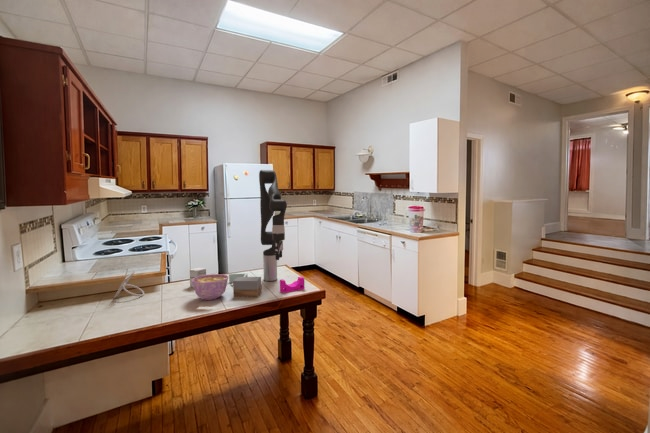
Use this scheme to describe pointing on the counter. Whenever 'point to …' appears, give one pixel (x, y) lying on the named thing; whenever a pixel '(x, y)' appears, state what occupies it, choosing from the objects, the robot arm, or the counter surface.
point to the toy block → (292, 285)
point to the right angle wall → (234, 276)
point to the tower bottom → (247, 293)
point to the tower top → (247, 283)
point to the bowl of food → (210, 286)
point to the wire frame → (128, 285)
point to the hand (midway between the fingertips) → (278, 258)
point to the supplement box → (196, 274)
